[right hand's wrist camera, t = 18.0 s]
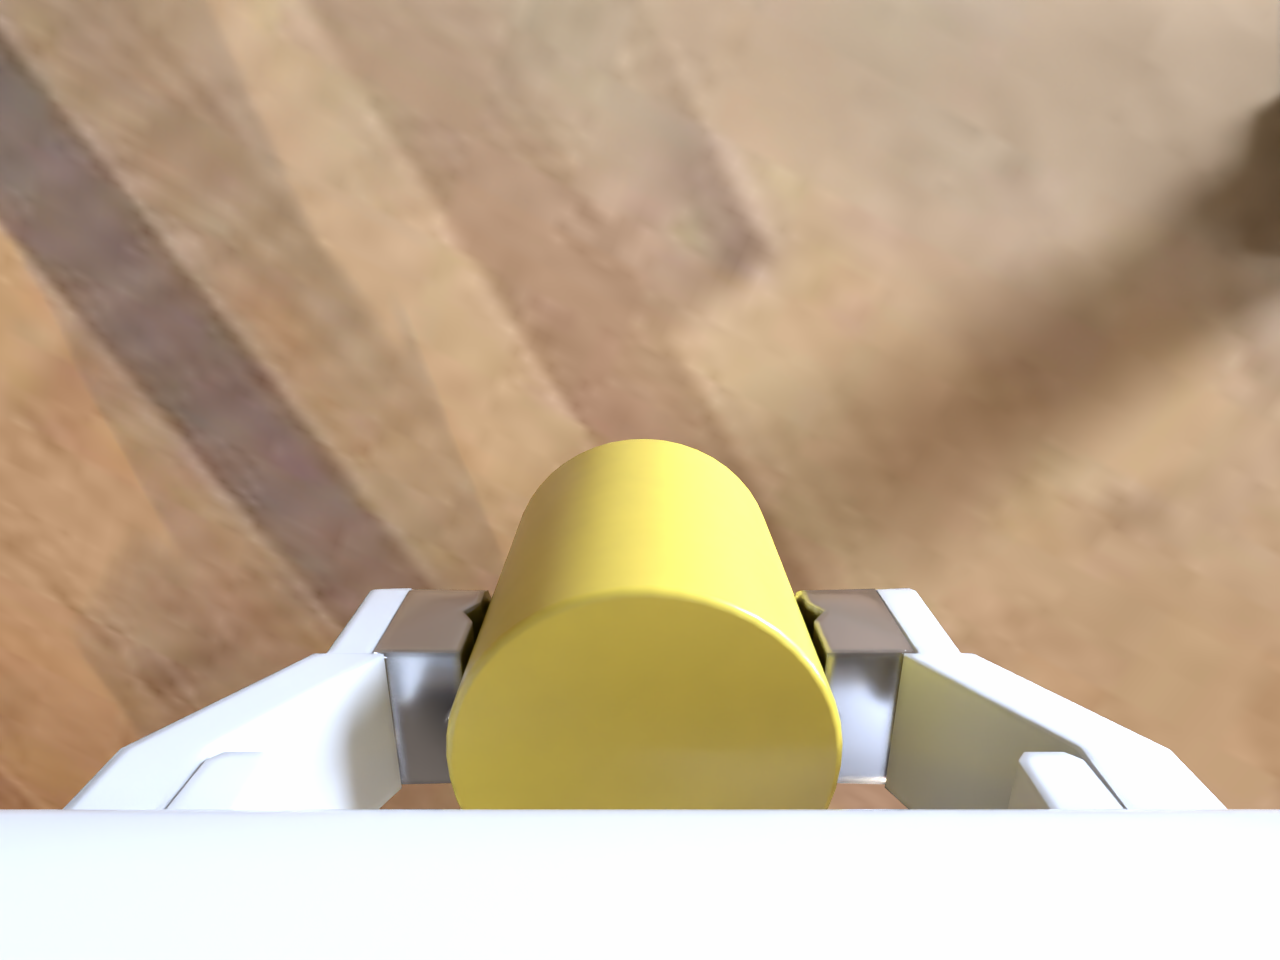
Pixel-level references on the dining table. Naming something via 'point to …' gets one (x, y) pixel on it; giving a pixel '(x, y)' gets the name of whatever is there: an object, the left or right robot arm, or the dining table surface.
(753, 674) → the canister
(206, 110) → the dining table surface
